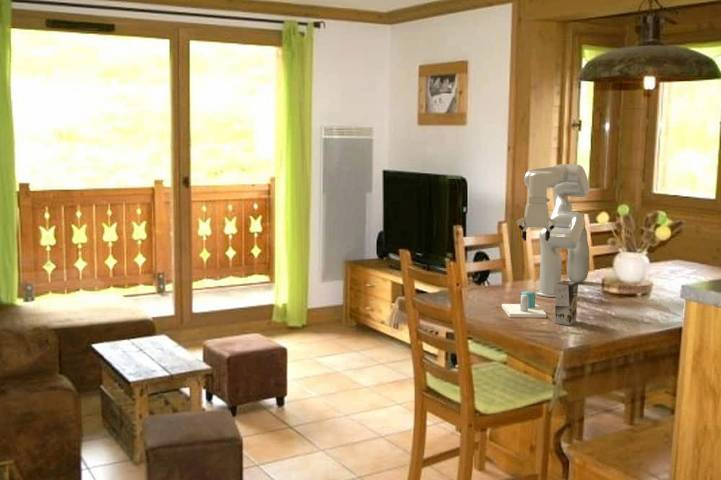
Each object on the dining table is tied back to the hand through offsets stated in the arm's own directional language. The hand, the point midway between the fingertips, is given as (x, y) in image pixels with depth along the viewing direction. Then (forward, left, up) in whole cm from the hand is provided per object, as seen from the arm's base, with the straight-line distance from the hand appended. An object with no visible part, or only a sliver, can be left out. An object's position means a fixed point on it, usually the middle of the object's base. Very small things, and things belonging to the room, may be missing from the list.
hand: (535, 240), depth 339 cm
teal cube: (+5, +11, -27) cm, 30 cm away
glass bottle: (-33, -50, -28) cm, 66 cm away
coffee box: (-6, +32, -28) cm, 43 cm away
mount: (+7, +16, -28) cm, 33 cm away
